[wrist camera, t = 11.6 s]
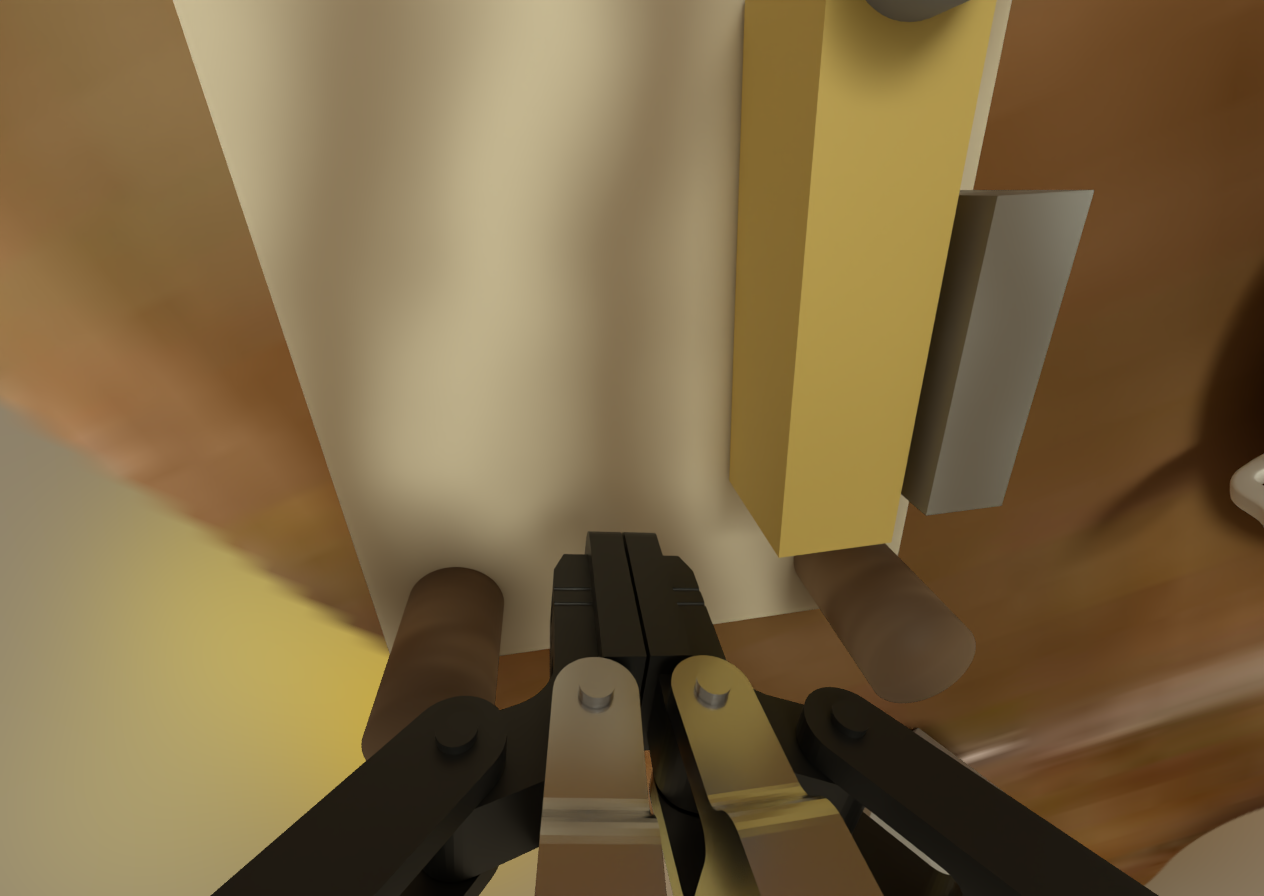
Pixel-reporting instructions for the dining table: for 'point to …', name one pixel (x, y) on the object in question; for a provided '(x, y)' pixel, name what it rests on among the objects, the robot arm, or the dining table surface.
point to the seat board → (576, 316)
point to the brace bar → (843, 251)
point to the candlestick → (1249, 488)
